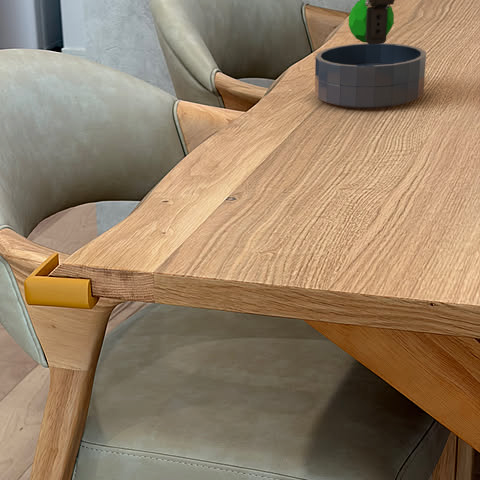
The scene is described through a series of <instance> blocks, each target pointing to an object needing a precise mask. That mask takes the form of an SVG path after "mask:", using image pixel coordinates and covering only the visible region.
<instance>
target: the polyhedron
mask: <svg viewBox="0 0 480 480" xmlns="http://www.w3.org/2000/svg"><path fill="white" fill-rule="evenodd" d="M365 2H366V0H357V1H356V2H355V4H354V5H353V7H352V8H351V10H350V13H349V14H348V28H349V30H350V32H351V34H352V36H353V37H354V38H355V39H356V40H358V41H359V42H361V43H367V42H366V40H365V32H366V6H365ZM387 9H388V15H387V34H386V37H387V36H388V34H390V32H391V30H392V27H393V26H394V24H395V14H394V10H393V8H392V6H391V5H390V8H387Z"/></svg>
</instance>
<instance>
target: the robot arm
mask: <svg viewBox="0 0 480 480" xmlns="http://www.w3.org/2000/svg"><path fill="white" fill-rule="evenodd" d="M395 1H396V0H366V2H365V6H366V32H365V40H366V42H367V43H368V44H382V43H386V41H387V36H386V34H387V15H388V9H387V8H390V6H391V5H394V4H395ZM387 35H388V34H387Z"/></svg>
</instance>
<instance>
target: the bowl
mask: <svg viewBox="0 0 480 480" xmlns="http://www.w3.org/2000/svg"><path fill="white" fill-rule="evenodd" d="M314 60H315V61H314V63H315V66H314V67H315V68H314V72H315V73H314V96H315V97H316V98H317V99H318V100H319V101H322V102H325V103H327V104H331V105H334V106H337V107H342V108H347V109H348V108H349V109H358V110H359V109H363V110H364V109H365V110H366V109H368V110H369V109H371V110H373V109H374V110H375V109H385V108H386V109H387V108H393V107H398V106H401V105H404V104H407V103H411V102H413V101H416V100H418V99H420V98H421V97H422V96H424V90H425V89H424V88H425V77H426V76H425V75H426V64H427V63H426V62H427V51H425V50H424V49H422V48H420V47H416V46H413V45H409V44H402V43H389V42H384V43H382V44H368V43H365V42H361V43H350V44H344V45H337V46H333V47H329V48H325V49H323V50H320V51H319V52H317V53H316V55H315V59H314Z"/></svg>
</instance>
